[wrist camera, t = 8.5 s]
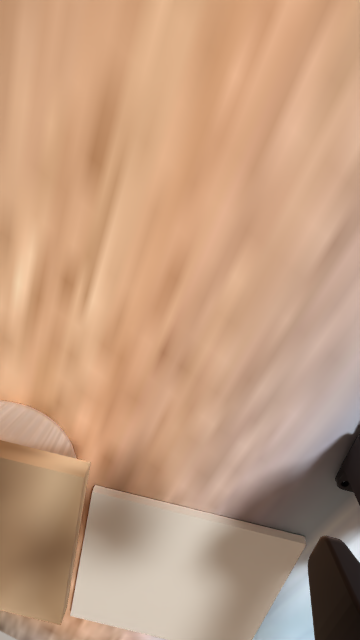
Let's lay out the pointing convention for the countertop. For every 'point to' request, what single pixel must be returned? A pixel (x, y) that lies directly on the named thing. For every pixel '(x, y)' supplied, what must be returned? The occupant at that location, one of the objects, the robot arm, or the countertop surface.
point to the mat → (178, 569)
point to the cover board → (38, 529)
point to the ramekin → (32, 429)
